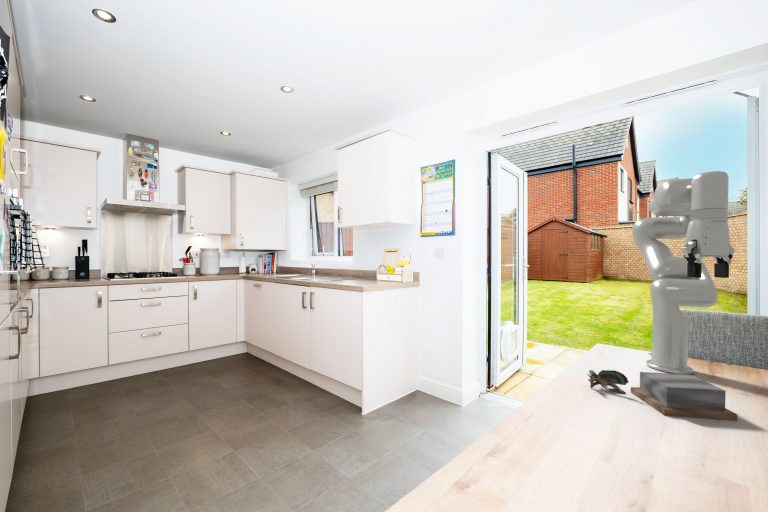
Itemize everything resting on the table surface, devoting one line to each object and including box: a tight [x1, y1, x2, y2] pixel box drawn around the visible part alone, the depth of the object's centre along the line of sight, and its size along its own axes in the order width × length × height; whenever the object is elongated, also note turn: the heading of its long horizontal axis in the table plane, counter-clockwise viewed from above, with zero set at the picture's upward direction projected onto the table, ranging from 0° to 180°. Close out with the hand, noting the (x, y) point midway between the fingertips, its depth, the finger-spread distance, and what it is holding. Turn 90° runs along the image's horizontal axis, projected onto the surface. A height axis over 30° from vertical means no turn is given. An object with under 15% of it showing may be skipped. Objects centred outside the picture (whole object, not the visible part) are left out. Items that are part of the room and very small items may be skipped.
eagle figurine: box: [587, 369, 630, 394], centre depth 98 cm, size 8×7×9 cm
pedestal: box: [630, 371, 739, 421], centre depth 89 cm, size 14×16×6 cm
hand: (707, 277), depth 95 cm, fingers open, 9 cm apart
